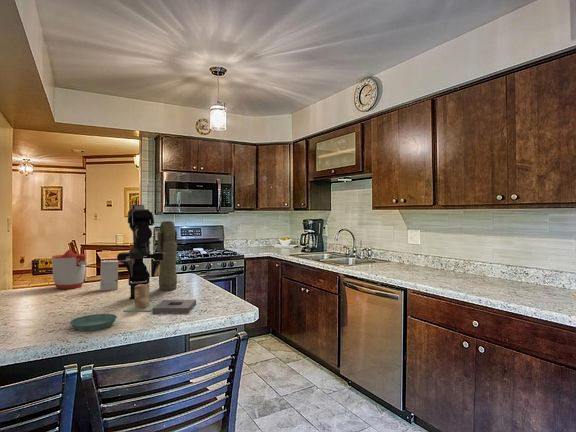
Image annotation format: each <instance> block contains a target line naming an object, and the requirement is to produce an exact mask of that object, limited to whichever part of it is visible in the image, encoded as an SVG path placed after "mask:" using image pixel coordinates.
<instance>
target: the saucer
mask: <svg viewBox="0 0 576 432" xmlns="http://www.w3.org/2000/svg"><path fill="white" fill-rule="evenodd" d="M117 319H118V316H117V315H116V314H113V313H95V314H88V315H83V316H80V317H76V318H74V319H72V320H70V322H69V324H70V326H71V327H72V328H74V329H75V330H76V331H80V332H92V331H98V330H99V331H100V330H103V329H106V328H108V327H110V326H112V325H113V323H114V322H115V321H116V320H117Z"/></svg>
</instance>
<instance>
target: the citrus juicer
mask: <svg viewBox="0 0 576 432" xmlns="http://www.w3.org/2000/svg"><path fill="white" fill-rule="evenodd" d="M51 257H52V278H53V281H54V285H55V287H56V289H58V288H59V289H58V290H60V289H61V290H62V289H63V290H65V289H66V290H72V289H75V288H79V287H82V286H83V284H84V281H85V277H86V266H88V263H87V262H86V254H85V253H84V254H83V253H74V251H72V250H70V249H68V250H66V251H65V253H63V254H56V255H52V256H51Z"/></svg>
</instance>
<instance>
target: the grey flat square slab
mask: <svg viewBox="0 0 576 432" xmlns="http://www.w3.org/2000/svg"><path fill="white" fill-rule="evenodd" d="M156 304H157V305H156V306H155V307H154V308H153V310H152V314H188V313H190V312H191V311H192V309H194V307H195V306H196V305H197V299H162V300H161V301H160V302H158V303H156Z"/></svg>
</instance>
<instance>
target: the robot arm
mask: <svg viewBox="0 0 576 432" xmlns="http://www.w3.org/2000/svg"><path fill="white" fill-rule="evenodd" d="M127 224H129V229H130V230H131V232H132V241H133V242H132V245H133V246H132V247H131V248H130V249H129V251H125V252H123V251H122V252H118V254H117V255H116V260H118V261H120V263H122V264H124V265H125V267H126V270H127V272H128V279H127V280H128V286H130V289H129V290H130V296H129V298H128V299H132V300H133V299H134V300H135V286H137V285H139V284H149V285H150V277H151V276H150V275H151V274H150V273H149V271H148V268H147V266H146V263H144V259H153V260H152V278H155V276H156V273H157V271H158V269H159V267H160V263H161V261H164V259H167V254H166V253H165V252H159V251H156V252H154V253H151V250H150V249H151V248H150V244H151V241H150V239H151V238H152V236H153V232H152V229H151V228H150V226H153V225H154V224H155V217H154V214H153V212H152V211H151V210H150V209H146V208H145V205H144V204H132V207H131V208H130V210H128V212H127Z"/></svg>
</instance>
